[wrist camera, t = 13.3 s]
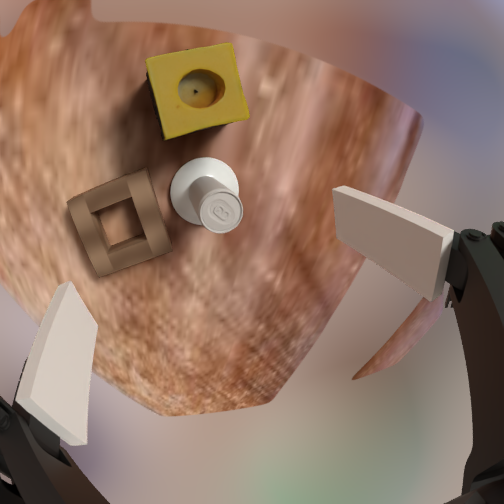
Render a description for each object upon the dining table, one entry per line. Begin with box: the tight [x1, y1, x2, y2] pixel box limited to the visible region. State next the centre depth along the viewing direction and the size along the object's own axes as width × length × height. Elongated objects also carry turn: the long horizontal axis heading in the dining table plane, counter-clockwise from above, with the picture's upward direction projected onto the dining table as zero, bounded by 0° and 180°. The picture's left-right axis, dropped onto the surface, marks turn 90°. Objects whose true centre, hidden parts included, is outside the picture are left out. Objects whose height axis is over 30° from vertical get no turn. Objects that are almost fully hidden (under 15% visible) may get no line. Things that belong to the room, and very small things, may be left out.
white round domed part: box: [170, 157, 239, 225], centre depth 38 cm, size 10×10×1 cm
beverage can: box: [189, 176, 243, 233], centre depth 33 cm, size 5×5×12 cm
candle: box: [145, 42, 250, 141], centre depth 29 cm, size 10×10×10 cm
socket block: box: [67, 167, 172, 278], centre depth 35 cm, size 12×12×4 cm
